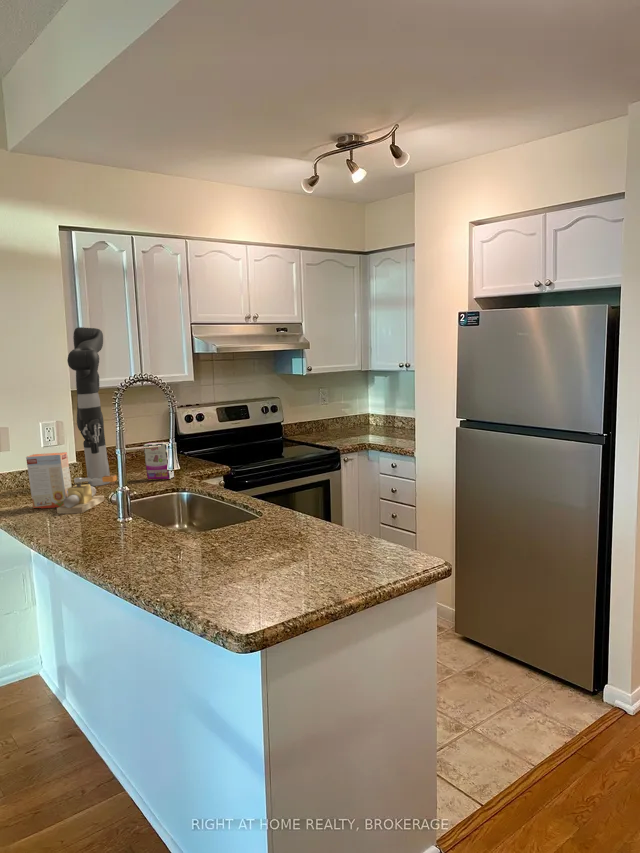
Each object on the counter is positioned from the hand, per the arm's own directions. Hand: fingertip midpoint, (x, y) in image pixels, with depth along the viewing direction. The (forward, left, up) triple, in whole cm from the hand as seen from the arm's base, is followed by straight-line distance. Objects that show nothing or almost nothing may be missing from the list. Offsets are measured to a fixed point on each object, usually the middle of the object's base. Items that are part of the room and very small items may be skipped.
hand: (95, 453), depth 228 cm
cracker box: (-10, -26, -22) cm, 35 cm away
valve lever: (-8, -6, -13) cm, 16 cm away
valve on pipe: (-8, -13, -22) cm, 27 cm away
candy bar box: (-52, +1, -22) cm, 57 cm away
